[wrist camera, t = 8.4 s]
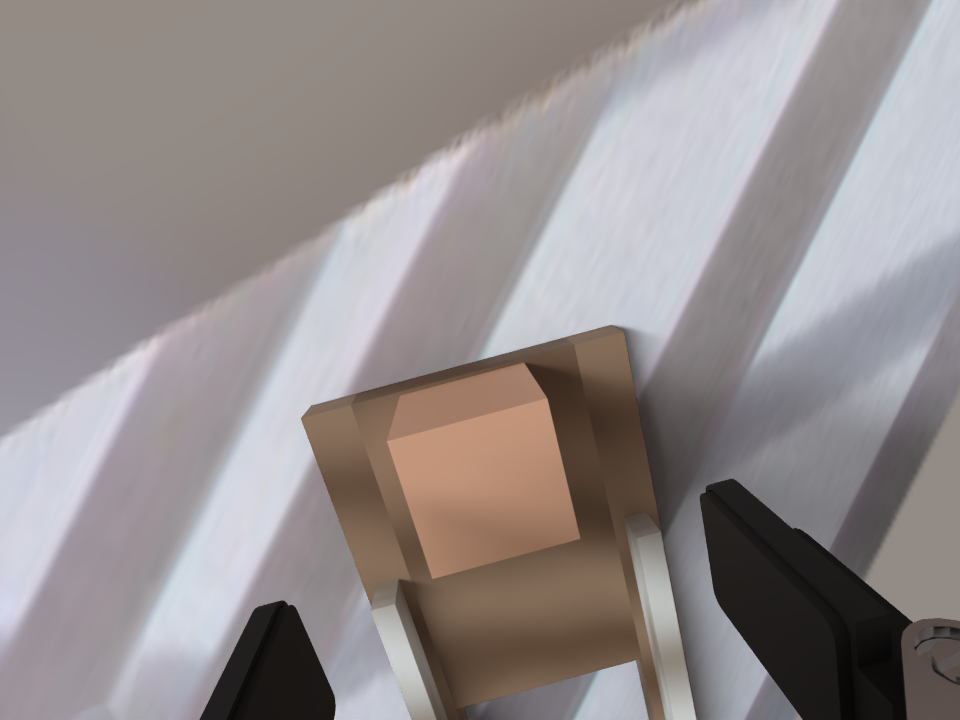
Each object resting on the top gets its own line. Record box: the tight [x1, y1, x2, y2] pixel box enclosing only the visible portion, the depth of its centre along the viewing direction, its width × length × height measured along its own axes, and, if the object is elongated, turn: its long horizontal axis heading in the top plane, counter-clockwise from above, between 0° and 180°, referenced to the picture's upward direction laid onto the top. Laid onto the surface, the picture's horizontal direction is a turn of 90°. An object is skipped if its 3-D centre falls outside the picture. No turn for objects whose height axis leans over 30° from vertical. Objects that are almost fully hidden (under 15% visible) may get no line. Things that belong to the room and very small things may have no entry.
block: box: [387, 363, 580, 579], centre depth 18 cm, size 5×5×4 cm
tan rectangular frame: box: [301, 325, 697, 720], centre depth 22 cm, size 23×13×3 cm, turn 14°
